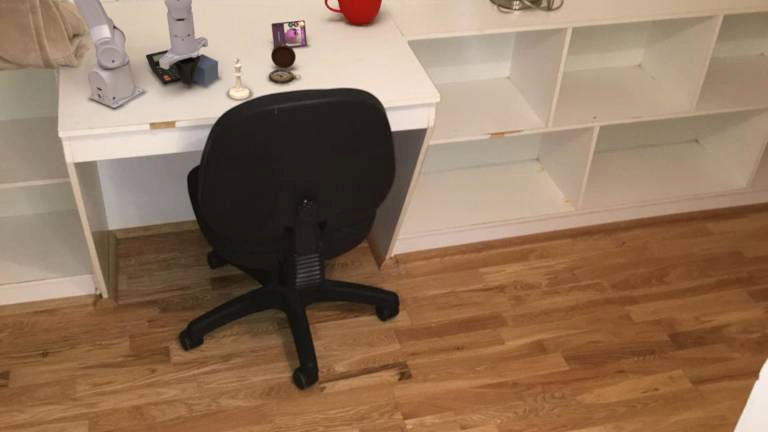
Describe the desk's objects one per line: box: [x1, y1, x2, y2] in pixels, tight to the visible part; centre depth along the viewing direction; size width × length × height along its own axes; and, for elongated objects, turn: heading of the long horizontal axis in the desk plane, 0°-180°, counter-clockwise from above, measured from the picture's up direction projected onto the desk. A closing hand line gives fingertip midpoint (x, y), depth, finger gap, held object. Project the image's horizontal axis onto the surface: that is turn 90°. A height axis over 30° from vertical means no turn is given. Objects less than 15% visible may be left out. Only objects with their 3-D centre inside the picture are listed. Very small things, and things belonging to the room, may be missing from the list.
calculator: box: [145, 49, 182, 86], centre depth 197 cm, size 9×12×3 cm
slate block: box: [193, 53, 219, 87], centre depth 194 cm, size 5×5×5 cm
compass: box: [268, 44, 302, 85], centre depth 197 cm, size 8×8×7 cm
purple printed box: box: [270, 19, 308, 49], centre depth 212 cm, size 7×5×9 cm
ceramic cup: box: [324, 0, 383, 27], centre depth 222 cm, size 13×17×10 cm
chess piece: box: [228, 56, 250, 100], centre depth 188 cm, size 5×5×10 cm
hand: (187, 83), depth 191 cm, fingers closed
